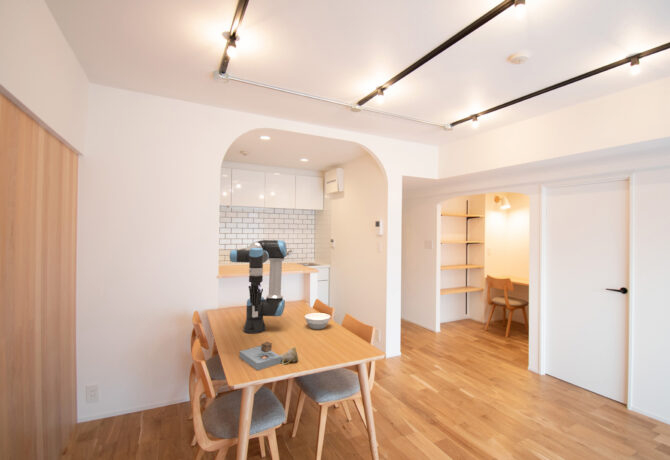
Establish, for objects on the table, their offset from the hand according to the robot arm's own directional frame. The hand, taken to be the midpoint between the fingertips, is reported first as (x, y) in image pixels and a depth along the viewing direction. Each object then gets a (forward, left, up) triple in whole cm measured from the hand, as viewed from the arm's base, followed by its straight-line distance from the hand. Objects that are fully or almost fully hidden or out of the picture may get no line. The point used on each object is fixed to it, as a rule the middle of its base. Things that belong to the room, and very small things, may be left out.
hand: (255, 316), depth 174 cm
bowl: (-20, +62, -23) cm, 69 cm away
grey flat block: (+7, 0, -22) cm, 23 cm away
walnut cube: (+5, +5, -19) cm, 20 cm away
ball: (+12, -1, -21) cm, 24 cm away
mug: (+19, +11, -23) cm, 31 cm away
